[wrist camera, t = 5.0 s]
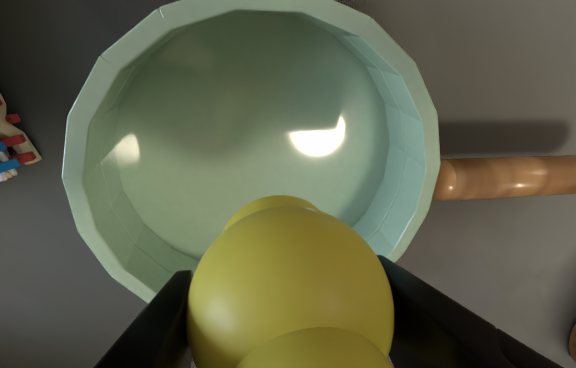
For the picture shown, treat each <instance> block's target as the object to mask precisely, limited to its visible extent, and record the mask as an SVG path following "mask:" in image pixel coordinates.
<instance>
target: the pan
mask: <svg viewBox="0 0 576 368" xmlns="http://www.w3.org/2000/svg"><path fill="white" fill-rule="evenodd" d="M440 165H441V162H440V145H439V128H438V115H437V112H436V109H435V107H434V105H433V102H432V100H431V98H430V95H429V93H428V91H427V88H426V86H425V84H424V81H423V79H422V77H421V74H420V72H419V70H418V67H417V65H416V63H415V61H414V60H413V59H412V58H411V57H410V56H409V55H408V54H407V53H406V52H405V51H404V50H403V49H402V48H401V47H400V46H399V45H398V44H397V43H396V42H395V41H394V40H393V39H392V37H391V36H390V35H389V34H388V33H387V32H386V31H385V30H384V29H383V28H382V27H381V26H380V25H379V24H378V23H377V22H376V21H375V20H374V19H373V18H371V17H370V16H368V15H366V14H364V13H362V12H359V11H357V10H355V9H353V8H351V7H348V6H346V5H344V4H342V3H340V2H337V1H335V0H179V1H176V2H173V3H170V4H166V5H163V6H160V7H159V9H155V10H154V11H153V12H152V13H150V14H149V15H148V16H147V17H146V18H144V19H143V20H142V21H141V22H139V23H138V24H137V25H136V26H135V27H133V28H132V29H131V30H130V31H129V32H127V33H126V34H125V35H124V36H122V37H121V38H120V39H119V40H118V41H116V42H115V43H114V44H113V45H111V46H110V47H109V48H108V49H107V50H105V51H104V52H103V53H102V55H101V56H99V57H98V59H97V61H96V63H95V65H94V67H93V69H92V71H91V72H90V74H89V76H88V78H87V80H86V82H85V84H84V86H83V87H82V89H81V91H80V93H79V95H78V97H77V99H76V101H75V102H74V104H73V106H72V108H71V110H70V112H69V114H68V117H67V125H66V136H65V147H64V158H63V169H62V178H63V179H62V180H63V184H64V187H65V190H66V194H67V197H68V200H69V204H70V207H71V210H72V214H73V217H74V220H75V224H76V227H77V230H78V232H79V234H80V236H81V237H82V238H83V240H84V241H85V242H86V244H87V245H88V247H89V248H90V249H91V251H92V252H93V253H94V255H95V256H96V257H97V259H98V260H99V261H100V263H101V264H102V265H103V267H104V268H105V269H106V271H107V272H108V273H109V275H111V277H112V278H114V279H115V280H116V281H118V282H119V283H120V284H122V285H123V286H125V287H126V288H127V289H129V290H130V291H132V292H133V293H134V294H136V295H137V296H139V297H140V298H141V299H143V300H144V301H145V302H147V303H148V304H149V302H150V301H151V300H152V299H153V298H154V297H155V295H156V294H157V293H158V292H159V291H160V290H161V289H162V287H163V286H164V285H165V284H166V283H167V282H168V280H169V279H170V278H171V277H172V276H173V275H174V273H175V272H177V271H179V270H192V271H193V274H194V273H195V271H196V269H197V266H198V264H199V262H200V260H201V258H202V257H203V255H204V254H205V252H206V251H207V250H208V248H209V247H210V245H211V244H212V243H213V242H214V241H215V239H216V238H217V237H218V236H219V235H220V234H221V233H222V231H223V229H224V227H225V225H226V223H227V222H228V221H229V219H230V218H231V217H232V216H233V215H234V214H235V213H236V212H237V211H238V210H239V209H240V208H242V207H243V206H245V205H246V204H248V203H250V202H252V201H254V200H257V199H260V198H263V197H267V196H274V195H287V196H294V197H298V198H301V199H304V200H306V201H308V202H310V203H312V204H313V205H315V206H316V207H317V208H318V209H319V210H320V211H323V212H325V213H328V214H330V215H332V216H334V217H336V218H338V219H339V220H341V221H343V222H345V223H346V224H348V225H349V226H350V227H351V228H353V229H354V230H355V231H356V232H357V233H358V234H360V235H361V236H362V238H363V239H364V240H365V241H366V242H367V243H368V244H369V246H370V247H371V248H372V249H373V251H374V252H375V254H376V255H383V256H384V257H386V258H388V259H389V260H391V261H392V262H394V263H395V262H396V261H397V260H398V259H399V258H400V257H401V256H402V255H403V254H404V252H405V251H406V249H407V247H408V246H409V244H410V242H411V241H412V239H413V237H414V236H415V234H416V232H417V231H418V229H419V227H420V226H421V224H422V222H423V221H424V219H425V217H426V216H427V212H428V211H429V208H430V204H431V200H432V196H433V192H434V188H435V185H436V181H437V177H438V173H439V169H440Z"/></svg>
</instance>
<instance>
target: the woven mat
mask: <svg viewBox="0 0 576 368" xmlns="http://www.w3.org/2000/svg"><path fill="white" fill-rule="evenodd" d="M18 122H21V120H20V118H19V116H18V114H7V115H6V103H5V101H4V99H3V97H2V95H1V93H0V138H1V139H0V181H5V180H7V178H10V177H12V175H17V174H18V173H17V171H16V170H15V168H17V167H20V166H21V165H20V164H21V163H25V164H32V163H35V162H37V161H39V160H41V159H42V158H41V156H40V155H39V153H38V152H37V150H36V149H35V148H34V146H33V145H32V143H31V142H30V140H29V139H28V137H27V136H26V134H25V133H24V132H23V131H21V130H19V129H18V128H16V127H15V126H13V125H12V124H13V123H18ZM9 146H12V147H13V149H14V150H15V151H16V153H17V154H18V155H14V156H10V155H9V153H8V151H7V147H9Z"/></svg>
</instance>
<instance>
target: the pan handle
mask: <svg viewBox="0 0 576 368" xmlns="http://www.w3.org/2000/svg"><path fill="white" fill-rule="evenodd" d="M440 162H441V165H440V169H439V173H438V177H437V181H436V185H435V188H434V192H433V196H432V199H435V200H440V201H448V200H467V199H486V198H505V197H524V196H543V195H562V194H576V155H565V156H532V157H499V158H466V159H440Z"/></svg>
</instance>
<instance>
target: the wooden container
mask: <svg viewBox="0 0 576 368" xmlns="http://www.w3.org/2000/svg"><path fill="white" fill-rule="evenodd" d="M569 351H570V354H571V356H572V358H573V359H574V360H575V361H576V324H575V326H574V328H573V330H572V333H571V335H570V340H569Z"/></svg>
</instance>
